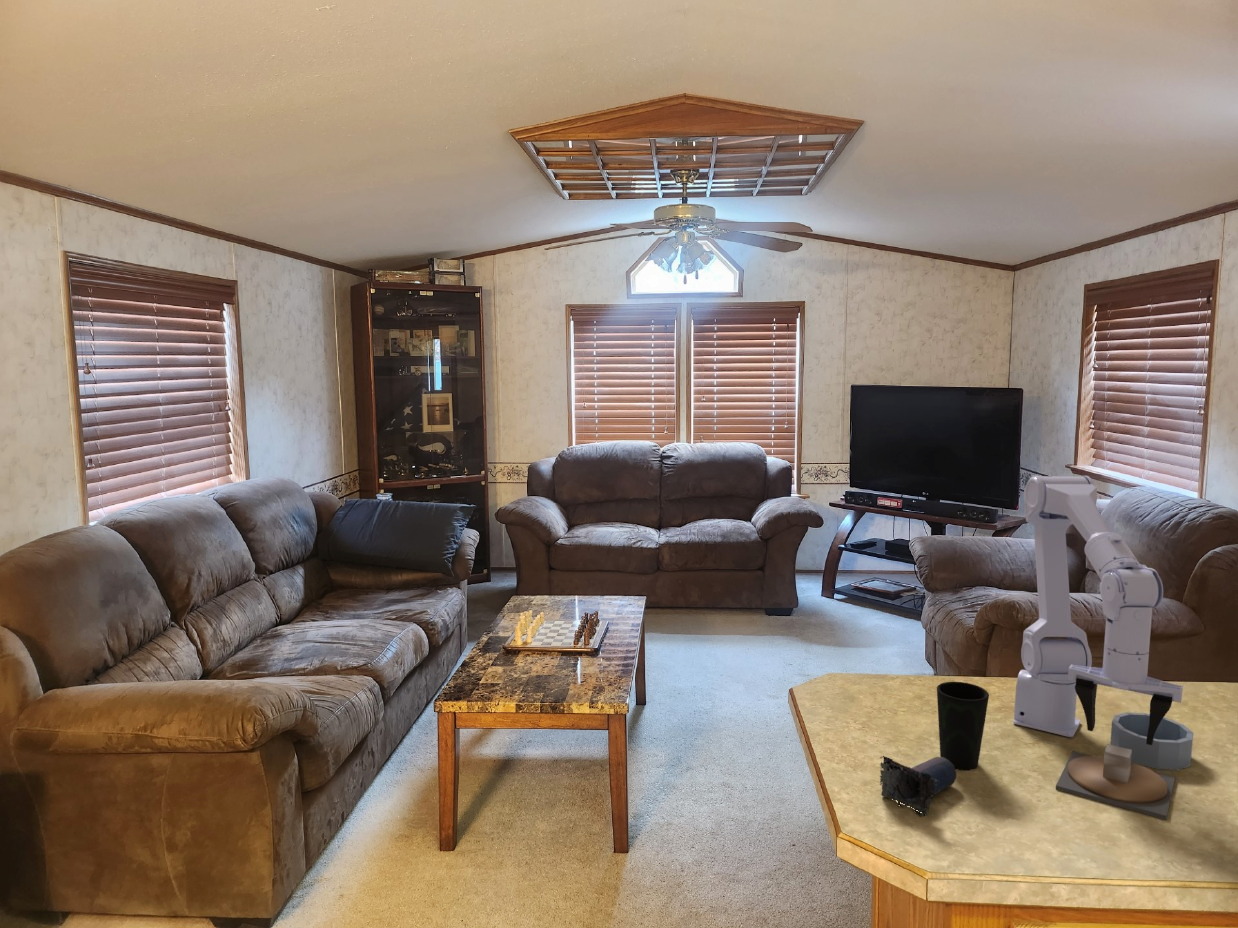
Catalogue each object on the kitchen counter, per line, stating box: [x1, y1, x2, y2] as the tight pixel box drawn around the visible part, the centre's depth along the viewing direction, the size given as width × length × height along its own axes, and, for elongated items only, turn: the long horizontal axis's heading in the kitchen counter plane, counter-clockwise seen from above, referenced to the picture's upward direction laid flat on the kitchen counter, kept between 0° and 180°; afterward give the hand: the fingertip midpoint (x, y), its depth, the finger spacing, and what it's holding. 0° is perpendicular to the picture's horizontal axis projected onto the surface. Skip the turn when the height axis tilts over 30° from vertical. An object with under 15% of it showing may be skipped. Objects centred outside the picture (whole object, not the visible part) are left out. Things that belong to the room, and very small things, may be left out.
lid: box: [1068, 743, 1167, 803], centre depth 127 cm, size 13×13×5 cm
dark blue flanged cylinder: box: [879, 755, 957, 817], centre depth 125 cm, size 9×8×12 cm
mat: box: [1055, 750, 1176, 821], centre depth 128 cm, size 14×14×1 cm
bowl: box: [1110, 711, 1194, 771], centre depth 137 cm, size 11×11×4 cm
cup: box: [936, 681, 990, 772], centre depth 134 cm, size 8×8×12 cm
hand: (1119, 735), depth 126 cm, fingers open, 7 cm apart
